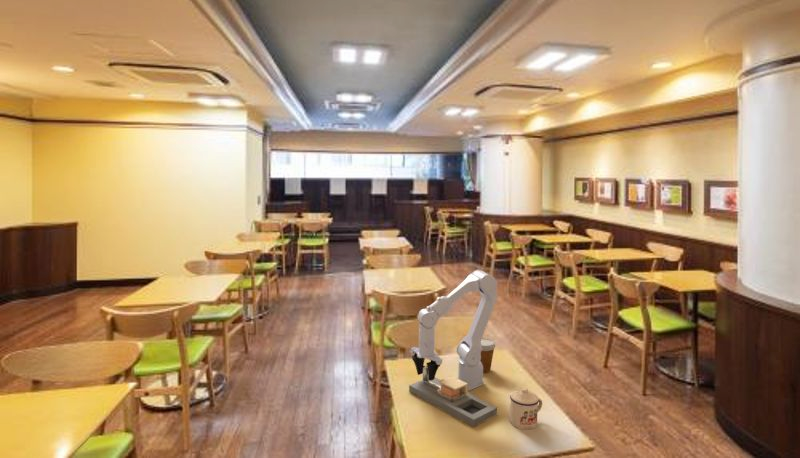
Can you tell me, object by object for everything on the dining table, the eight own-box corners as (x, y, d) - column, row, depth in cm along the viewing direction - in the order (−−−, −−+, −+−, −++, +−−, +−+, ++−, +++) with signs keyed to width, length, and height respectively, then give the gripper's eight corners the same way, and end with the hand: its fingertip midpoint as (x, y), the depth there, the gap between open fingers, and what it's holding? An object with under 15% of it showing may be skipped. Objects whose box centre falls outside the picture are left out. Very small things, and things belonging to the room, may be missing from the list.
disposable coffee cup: (494, 375, 190) (495, 347, 189) (470, 373, 192) (471, 344, 191) (494, 366, 200) (495, 338, 198) (471, 363, 202) (472, 336, 200)
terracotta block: (440, 394, 169) (440, 385, 169) (449, 390, 172) (449, 381, 172) (451, 399, 165) (451, 390, 165) (459, 396, 168) (460, 386, 168)
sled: (417, 383, 177) (417, 368, 176) (429, 378, 181) (429, 363, 180) (452, 402, 164) (453, 385, 163) (464, 396, 168) (465, 380, 167)
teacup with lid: (521, 432, 150) (523, 398, 149) (503, 418, 158) (504, 385, 157) (550, 424, 155) (552, 390, 154) (531, 411, 163) (533, 379, 162)
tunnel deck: (409, 391, 176) (409, 373, 175) (432, 382, 184) (432, 364, 183) (473, 426, 153) (474, 406, 152) (497, 414, 161) (497, 394, 160)
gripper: (405, 338, 179) (404, 373, 181) (432, 350, 168) (431, 386, 170) (419, 334, 183) (418, 368, 185) (446, 345, 172) (445, 381, 174)
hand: (425, 376), depth 178 cm, fingers open, 6 cm apart
